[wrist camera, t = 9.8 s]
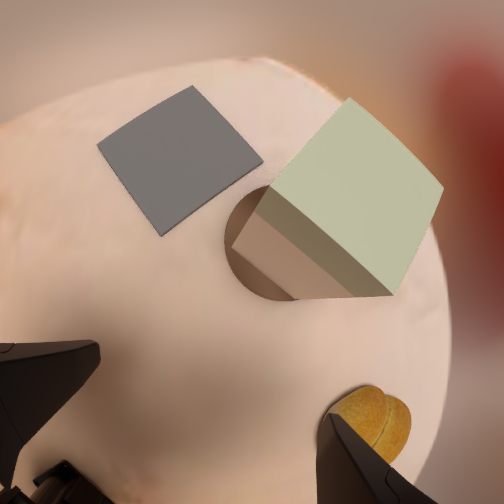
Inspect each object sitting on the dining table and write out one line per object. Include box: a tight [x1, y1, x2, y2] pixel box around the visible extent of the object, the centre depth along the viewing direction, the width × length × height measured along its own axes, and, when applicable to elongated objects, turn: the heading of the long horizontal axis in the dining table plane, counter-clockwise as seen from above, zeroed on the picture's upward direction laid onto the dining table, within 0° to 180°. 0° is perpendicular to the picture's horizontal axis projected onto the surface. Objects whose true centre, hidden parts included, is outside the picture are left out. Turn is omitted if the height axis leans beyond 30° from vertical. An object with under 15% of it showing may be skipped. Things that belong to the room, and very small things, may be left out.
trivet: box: [225, 185, 298, 301], centre depth 22 cm, size 9×9×1 cm
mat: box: [97, 85, 264, 237], centre depth 22 cm, size 10×10×1 cm
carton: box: [231, 97, 444, 299], centre depth 16 cm, size 6×6×12 cm
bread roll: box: [321, 386, 411, 464], centre depth 20 cm, size 8×9×4 cm
